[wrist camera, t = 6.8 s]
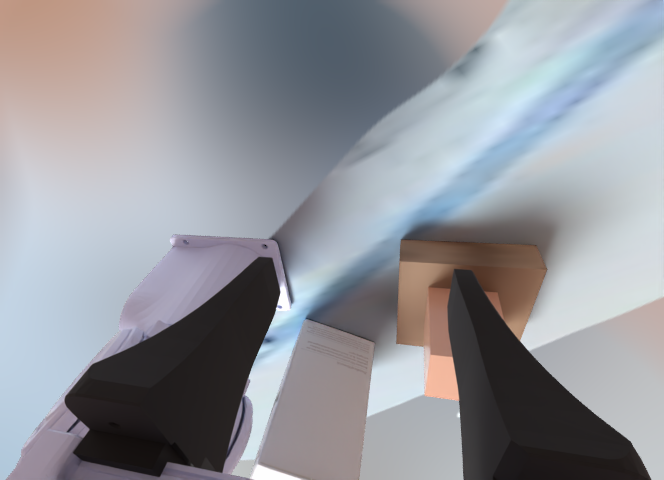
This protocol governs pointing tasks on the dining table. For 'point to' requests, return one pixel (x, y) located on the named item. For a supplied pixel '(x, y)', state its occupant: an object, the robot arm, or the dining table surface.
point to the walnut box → (489, 268)
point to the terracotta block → (442, 345)
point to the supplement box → (318, 409)
